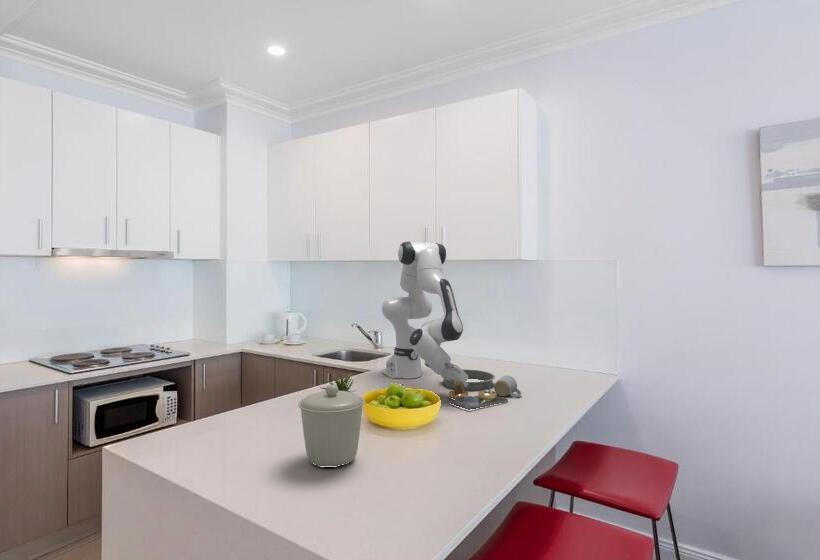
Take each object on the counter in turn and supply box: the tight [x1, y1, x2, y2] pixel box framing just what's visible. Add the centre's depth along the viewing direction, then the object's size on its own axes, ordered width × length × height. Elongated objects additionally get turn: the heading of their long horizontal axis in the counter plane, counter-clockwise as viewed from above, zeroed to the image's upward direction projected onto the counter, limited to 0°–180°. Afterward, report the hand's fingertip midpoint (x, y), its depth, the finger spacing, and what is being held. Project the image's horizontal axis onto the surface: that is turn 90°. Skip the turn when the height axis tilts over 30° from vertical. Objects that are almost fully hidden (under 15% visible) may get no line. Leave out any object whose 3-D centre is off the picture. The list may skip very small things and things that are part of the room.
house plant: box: [320, 372, 356, 393], centre depth 165 cm, size 14×14×16 cm
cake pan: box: [440, 369, 496, 391], centre depth 212 cm, size 25×25×4 cm
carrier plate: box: [448, 388, 509, 410], centre depth 182 cm, size 12×21×5 cm, turn 125°
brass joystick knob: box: [448, 380, 469, 399], centre depth 190 cm, size 8×8×10 cm
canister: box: [298, 384, 366, 466], centre depth 128 cm, size 18×18×21 cm
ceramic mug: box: [493, 374, 522, 399], centre depth 194 cm, size 11×8×8 cm
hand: (459, 382), depth 191 cm, fingers open, 8 cm apart
